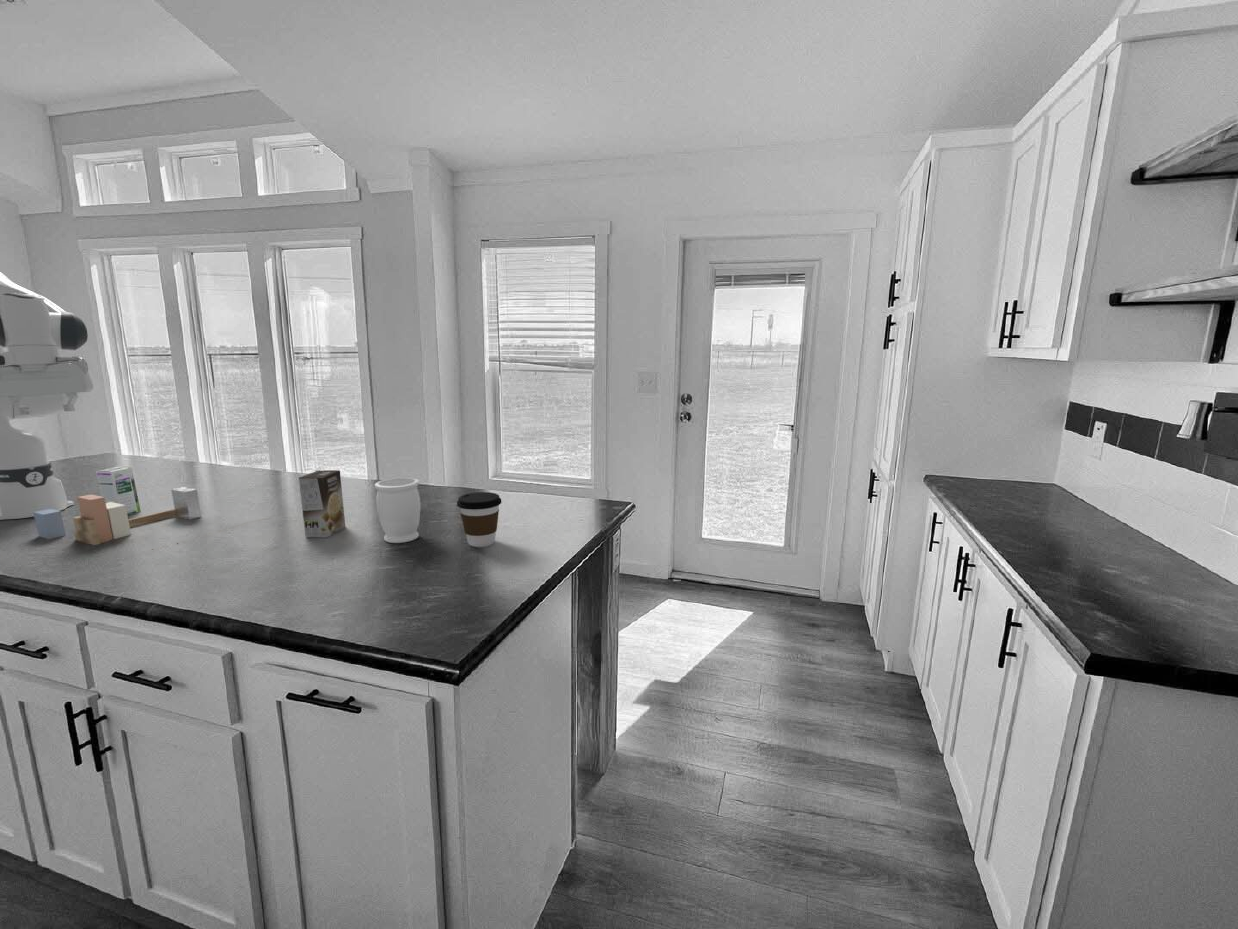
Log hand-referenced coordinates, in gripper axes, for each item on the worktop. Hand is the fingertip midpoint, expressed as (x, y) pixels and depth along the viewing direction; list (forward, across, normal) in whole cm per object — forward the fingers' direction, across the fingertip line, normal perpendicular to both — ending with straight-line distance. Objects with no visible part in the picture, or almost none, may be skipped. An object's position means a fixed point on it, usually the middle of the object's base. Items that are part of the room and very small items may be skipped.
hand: (47, 412), depth 147 cm
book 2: (+32, -13, +8) cm, 36 cm away
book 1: (+33, -10, +10) cm, 36 cm away
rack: (+33, -17, +3) cm, 37 cm away
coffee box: (+37, -64, +19) cm, 76 cm away
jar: (+39, -83, +30) cm, 97 cm away
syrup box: (+31, -5, -14) cm, 35 cm away
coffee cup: (+41, -102, +40) cm, 117 cm away
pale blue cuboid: (+32, +3, +4) cm, 33 cm away
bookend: (+32, -25, -4) cm, 41 cm away
